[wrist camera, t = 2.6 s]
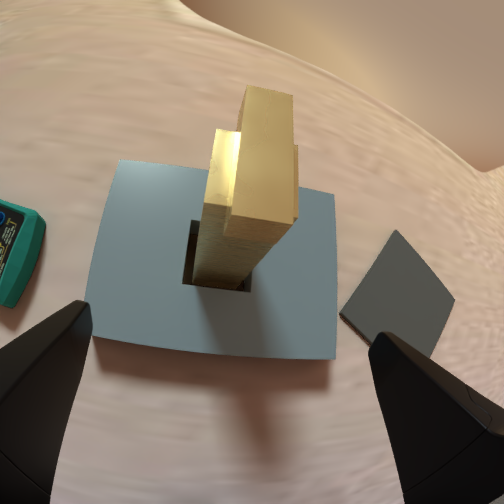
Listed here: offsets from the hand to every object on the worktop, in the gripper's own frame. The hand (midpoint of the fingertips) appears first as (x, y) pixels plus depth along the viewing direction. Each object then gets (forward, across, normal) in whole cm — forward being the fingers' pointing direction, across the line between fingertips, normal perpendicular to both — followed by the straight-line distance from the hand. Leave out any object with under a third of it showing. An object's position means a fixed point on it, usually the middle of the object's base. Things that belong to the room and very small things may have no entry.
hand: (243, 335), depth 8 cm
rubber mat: (+11, -16, +6) cm, 20 cm away
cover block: (+12, 0, +4) cm, 13 cm away
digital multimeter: (+12, +21, +6) cm, 25 cm away
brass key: (+12, 0, +4) cm, 13 cm away
